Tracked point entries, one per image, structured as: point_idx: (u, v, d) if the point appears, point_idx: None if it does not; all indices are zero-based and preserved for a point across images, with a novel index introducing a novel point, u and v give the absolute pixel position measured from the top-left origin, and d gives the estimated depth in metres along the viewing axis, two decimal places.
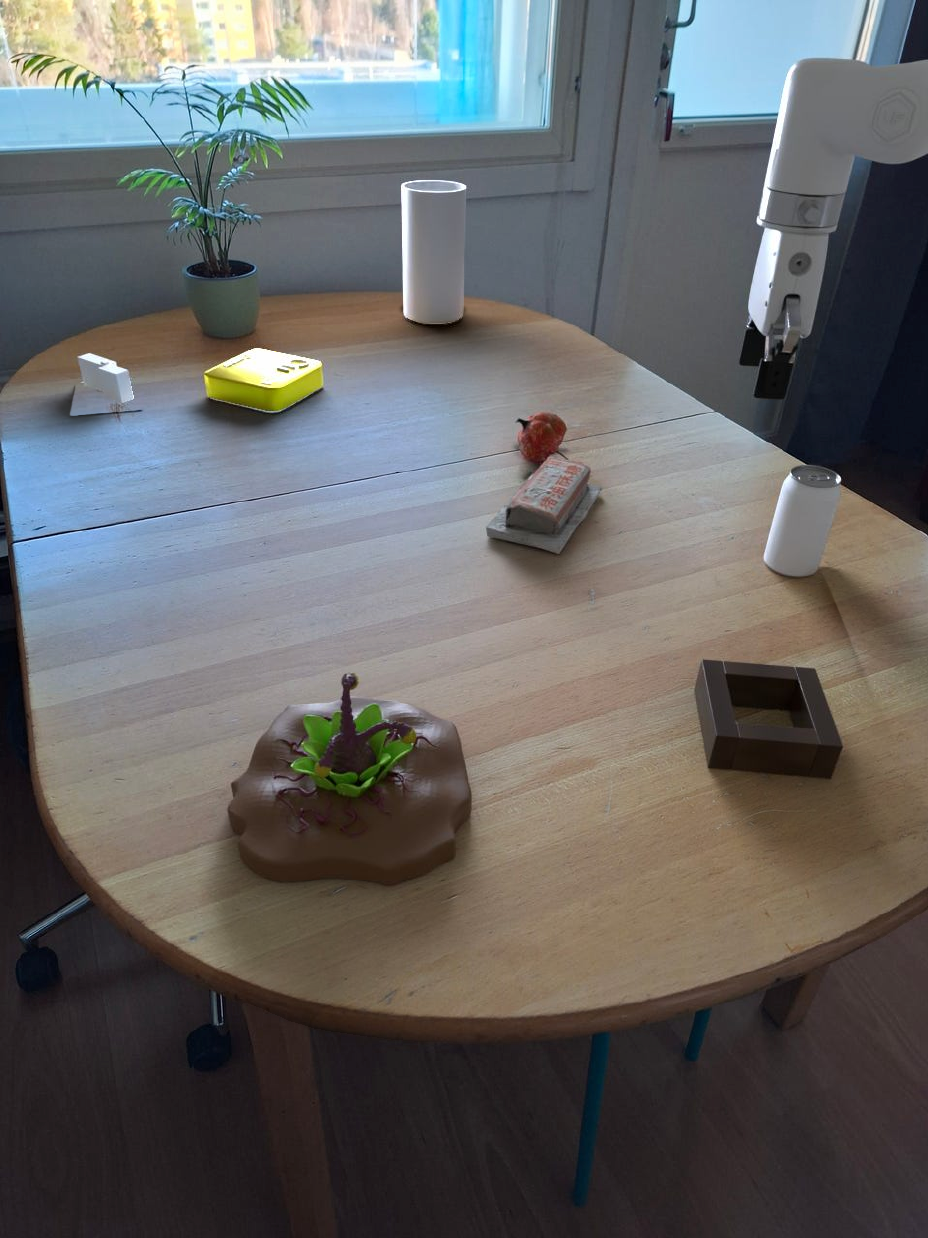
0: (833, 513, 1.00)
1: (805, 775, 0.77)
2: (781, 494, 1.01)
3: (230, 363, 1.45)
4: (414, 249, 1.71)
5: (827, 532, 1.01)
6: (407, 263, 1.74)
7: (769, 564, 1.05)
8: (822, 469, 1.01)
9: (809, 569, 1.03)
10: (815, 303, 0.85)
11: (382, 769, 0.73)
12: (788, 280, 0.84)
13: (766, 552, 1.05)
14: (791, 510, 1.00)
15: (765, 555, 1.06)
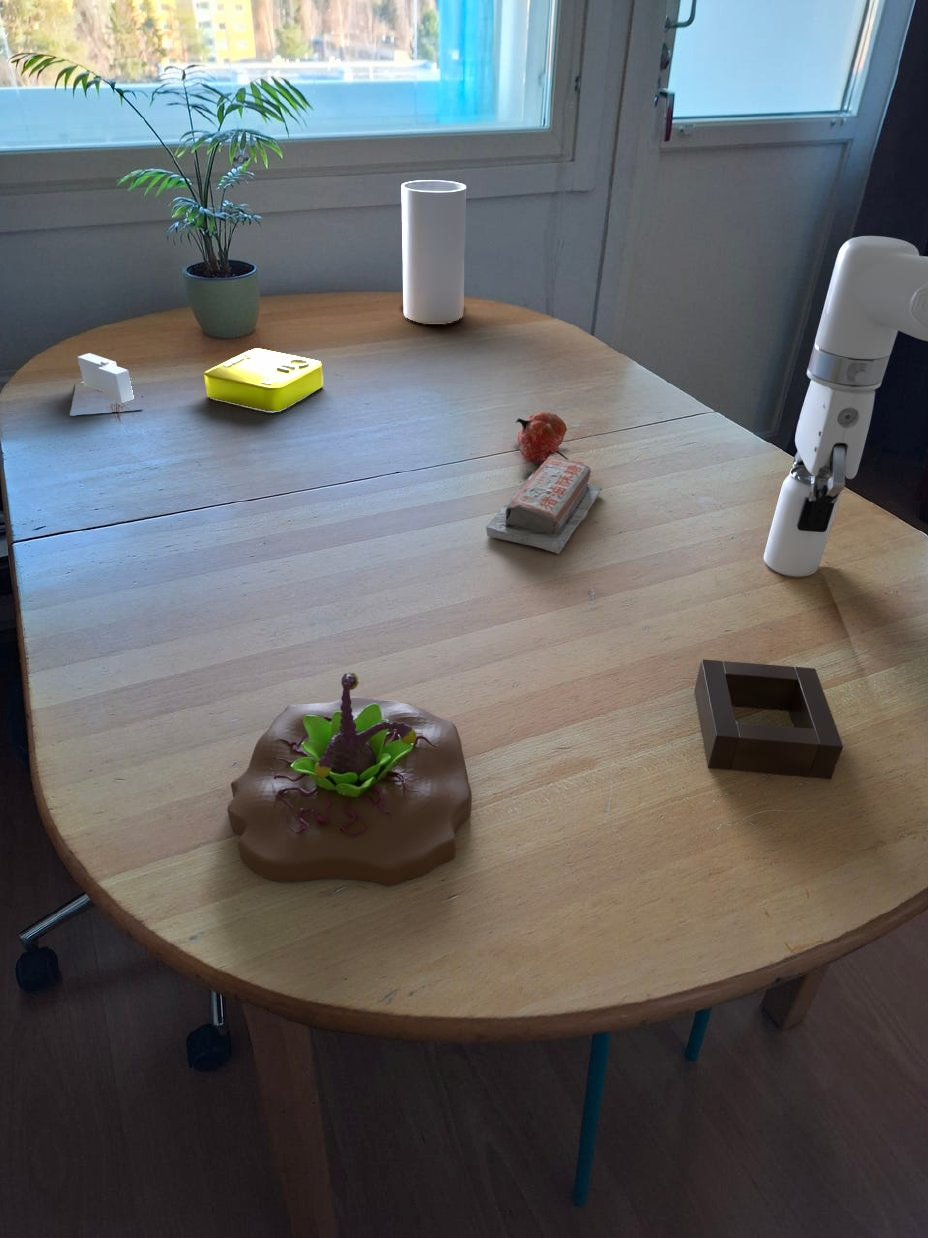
0: (833, 513, 1.00)
1: (805, 775, 0.77)
2: (781, 494, 1.01)
3: (230, 363, 1.45)
4: (414, 249, 1.71)
5: (827, 532, 1.01)
6: (407, 263, 1.74)
7: (769, 564, 1.05)
8: (822, 469, 1.01)
9: (809, 569, 1.03)
10: (861, 451, 0.92)
11: (382, 769, 0.73)
12: (837, 431, 0.91)
13: (766, 552, 1.05)
14: (791, 510, 1.00)
15: (765, 554, 1.06)
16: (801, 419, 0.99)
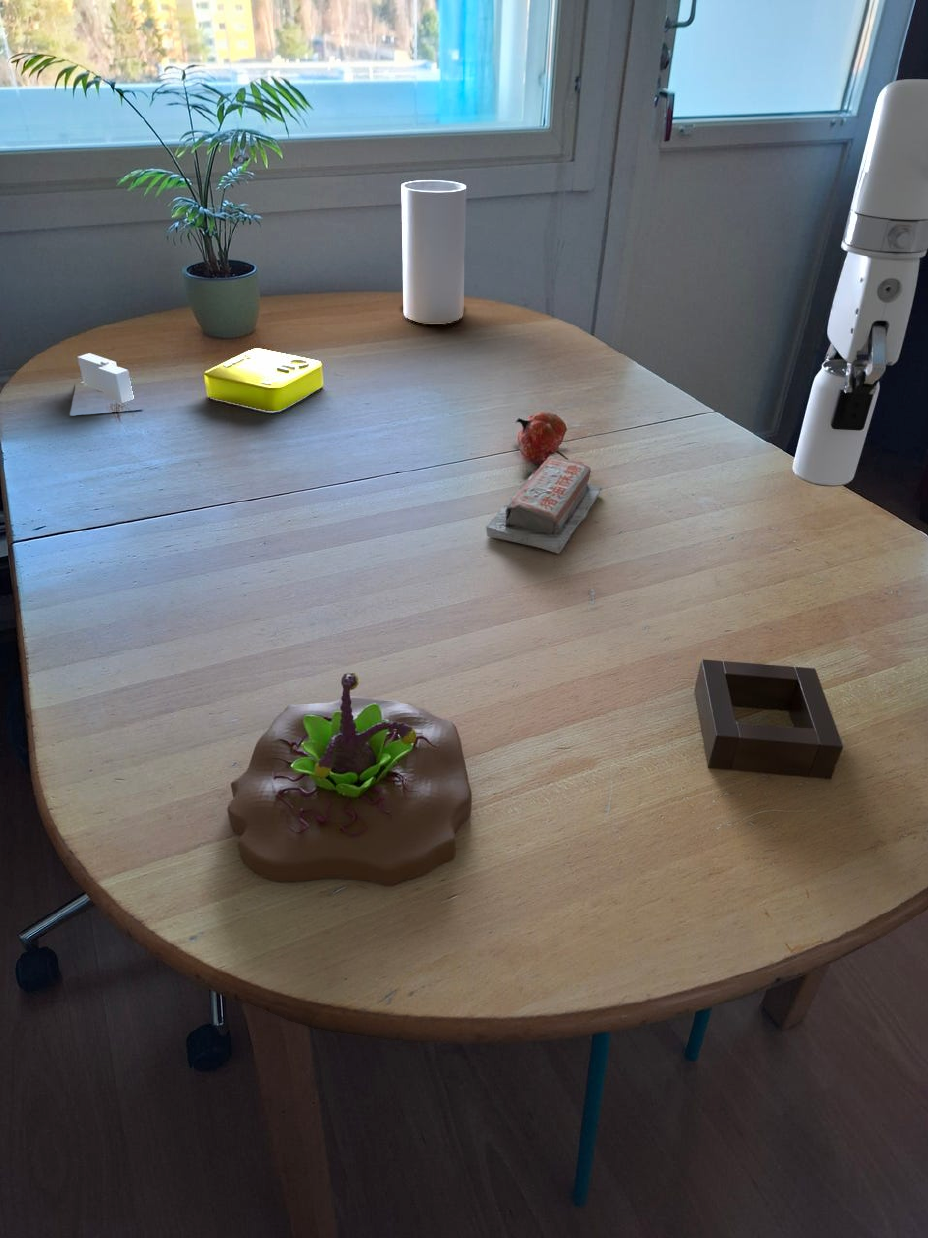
0: (871, 410, 0.90)
1: (805, 775, 0.77)
2: (812, 391, 0.91)
3: (230, 363, 1.45)
4: (414, 249, 1.71)
5: (864, 432, 0.91)
6: (407, 263, 1.74)
7: (799, 473, 0.95)
8: None
9: (844, 476, 0.93)
10: (904, 330, 0.82)
11: (382, 769, 0.73)
12: (876, 307, 0.81)
13: (795, 460, 0.95)
14: (823, 407, 0.90)
15: (795, 463, 0.96)
16: (834, 305, 0.89)
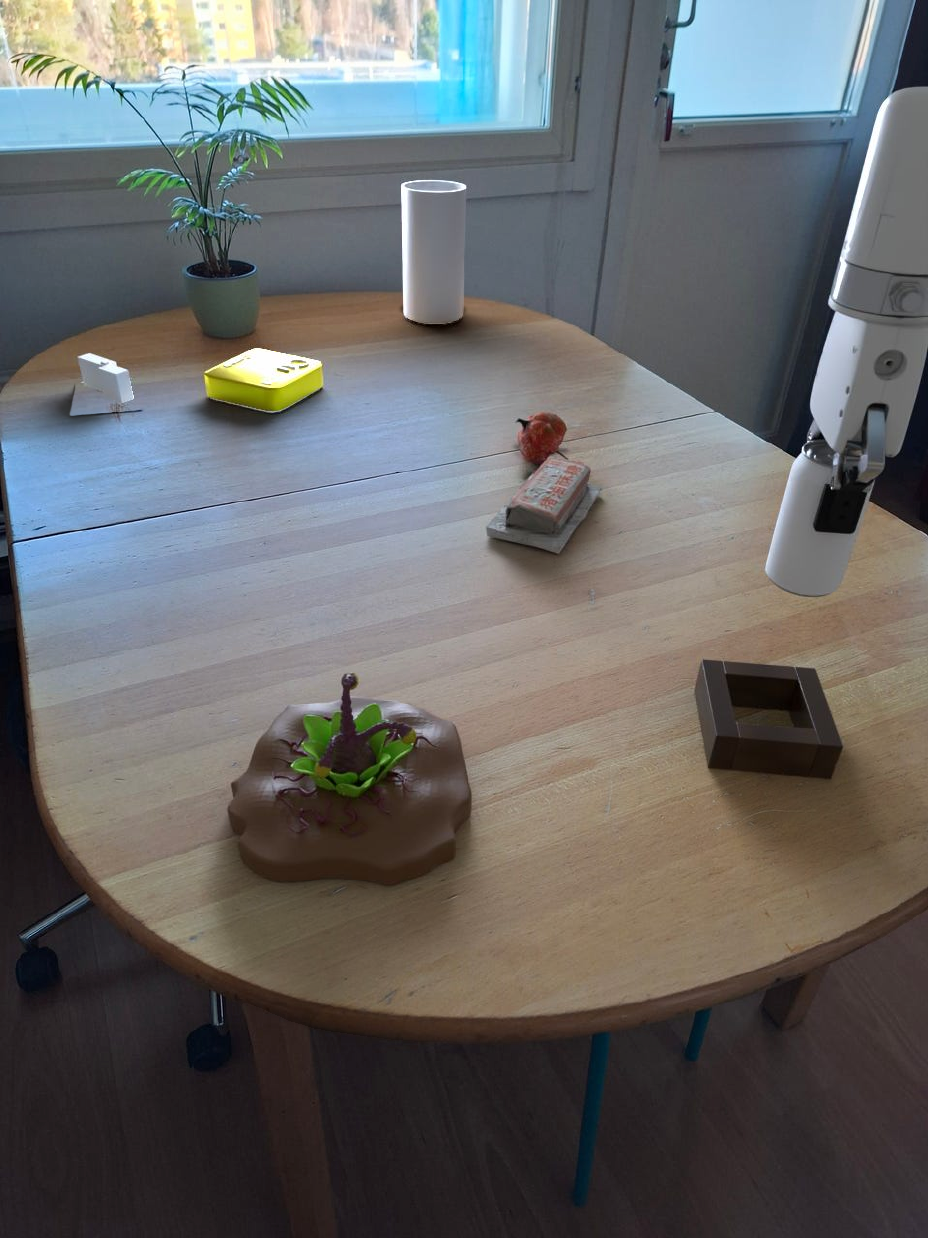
0: (863, 507, 0.70)
1: (805, 775, 0.77)
2: (790, 481, 0.72)
3: (230, 363, 1.45)
4: (414, 249, 1.71)
5: (854, 534, 0.72)
6: (407, 263, 1.74)
7: (773, 578, 0.76)
8: (847, 445, 0.72)
9: (828, 586, 0.74)
10: (909, 415, 0.63)
11: (382, 769, 0.73)
12: (873, 386, 0.62)
13: (769, 561, 0.76)
14: (803, 503, 0.71)
15: (768, 565, 0.76)
16: (819, 373, 0.69)
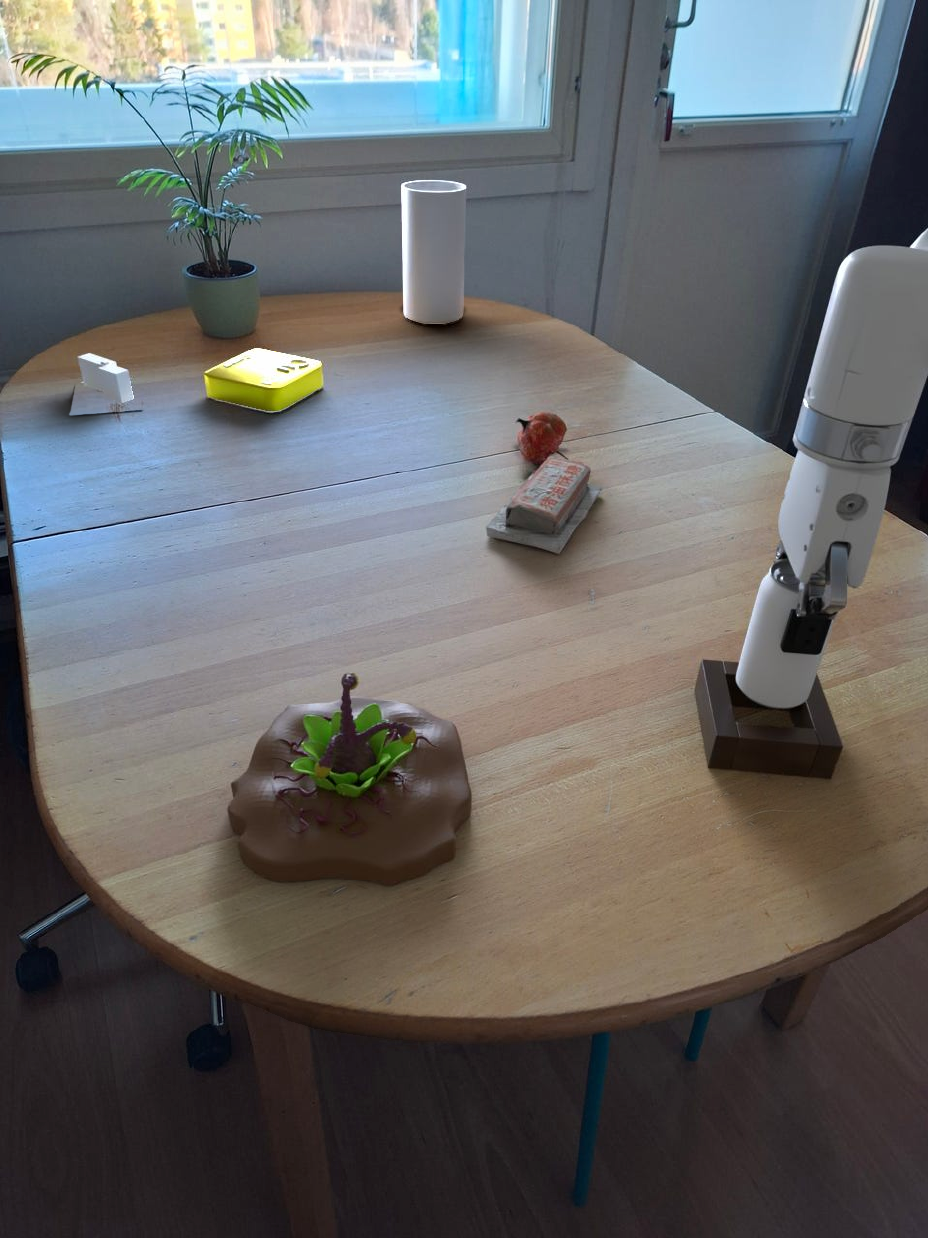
0: (829, 628, 0.72)
1: (805, 775, 0.77)
2: (758, 600, 0.73)
3: (230, 363, 1.45)
4: (414, 249, 1.71)
5: (821, 652, 0.73)
6: (407, 263, 1.74)
7: (743, 689, 0.77)
8: None
9: (796, 699, 0.76)
10: (870, 552, 0.64)
11: (382, 769, 0.73)
12: (836, 525, 0.63)
13: (739, 672, 0.78)
14: (771, 623, 0.72)
15: (738, 675, 0.78)
16: (786, 499, 0.71)
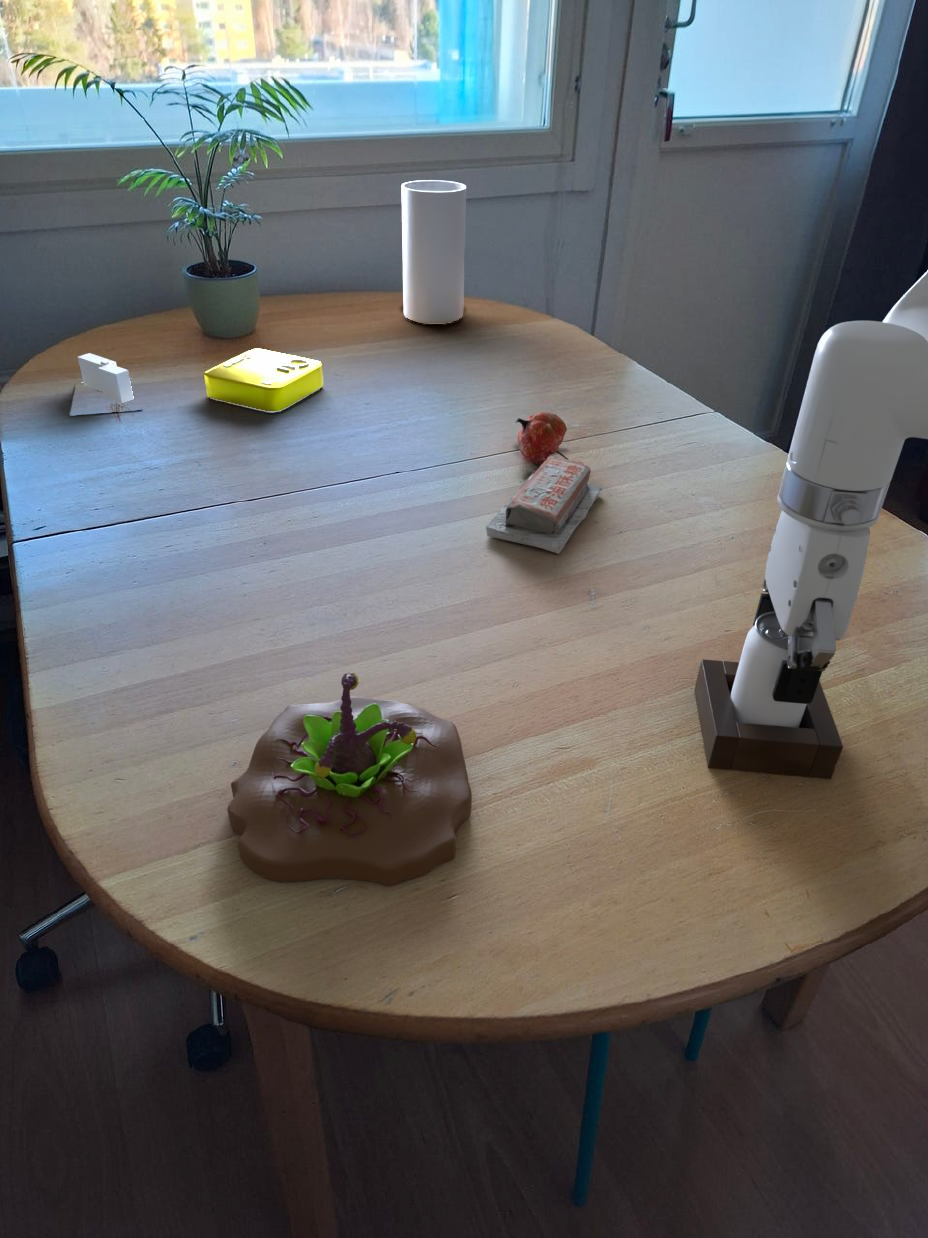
0: None
1: (805, 775, 0.77)
2: (744, 652, 0.76)
3: (230, 363, 1.45)
4: (414, 249, 1.71)
5: None
6: (407, 263, 1.74)
7: None
8: None
9: None
10: (852, 608, 0.67)
11: (382, 769, 0.73)
12: (818, 583, 0.66)
13: None
14: (756, 675, 0.75)
15: None
16: (772, 552, 0.74)
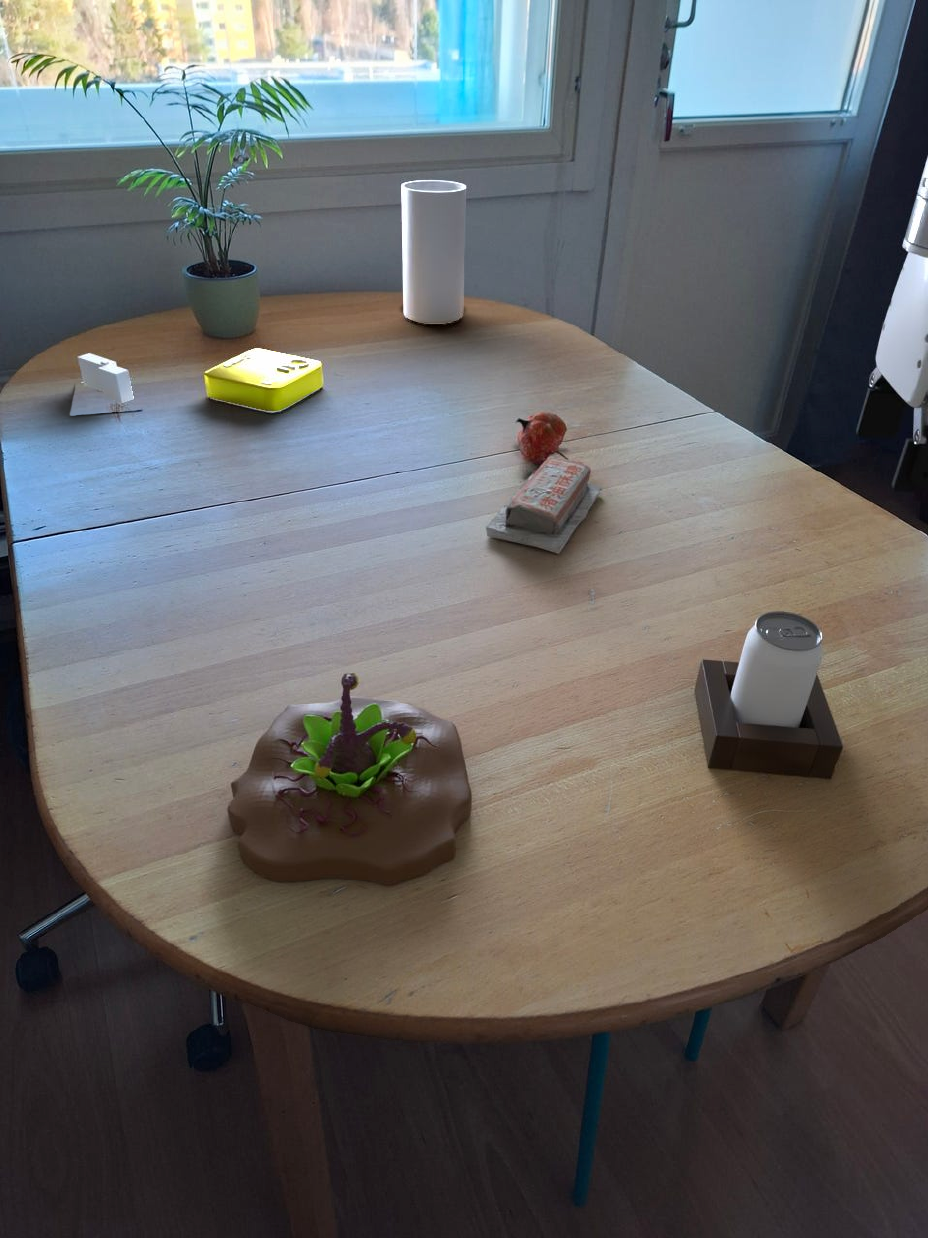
0: (812, 679, 0.75)
1: (805, 775, 0.77)
2: (744, 652, 0.76)
3: (230, 363, 1.45)
4: (414, 249, 1.71)
5: (805, 701, 0.77)
6: (407, 263, 1.74)
7: None
8: (798, 618, 0.77)
9: None
10: None
11: (382, 769, 0.73)
12: None
13: None
14: (756, 675, 0.75)
15: None
16: (888, 325, 0.65)
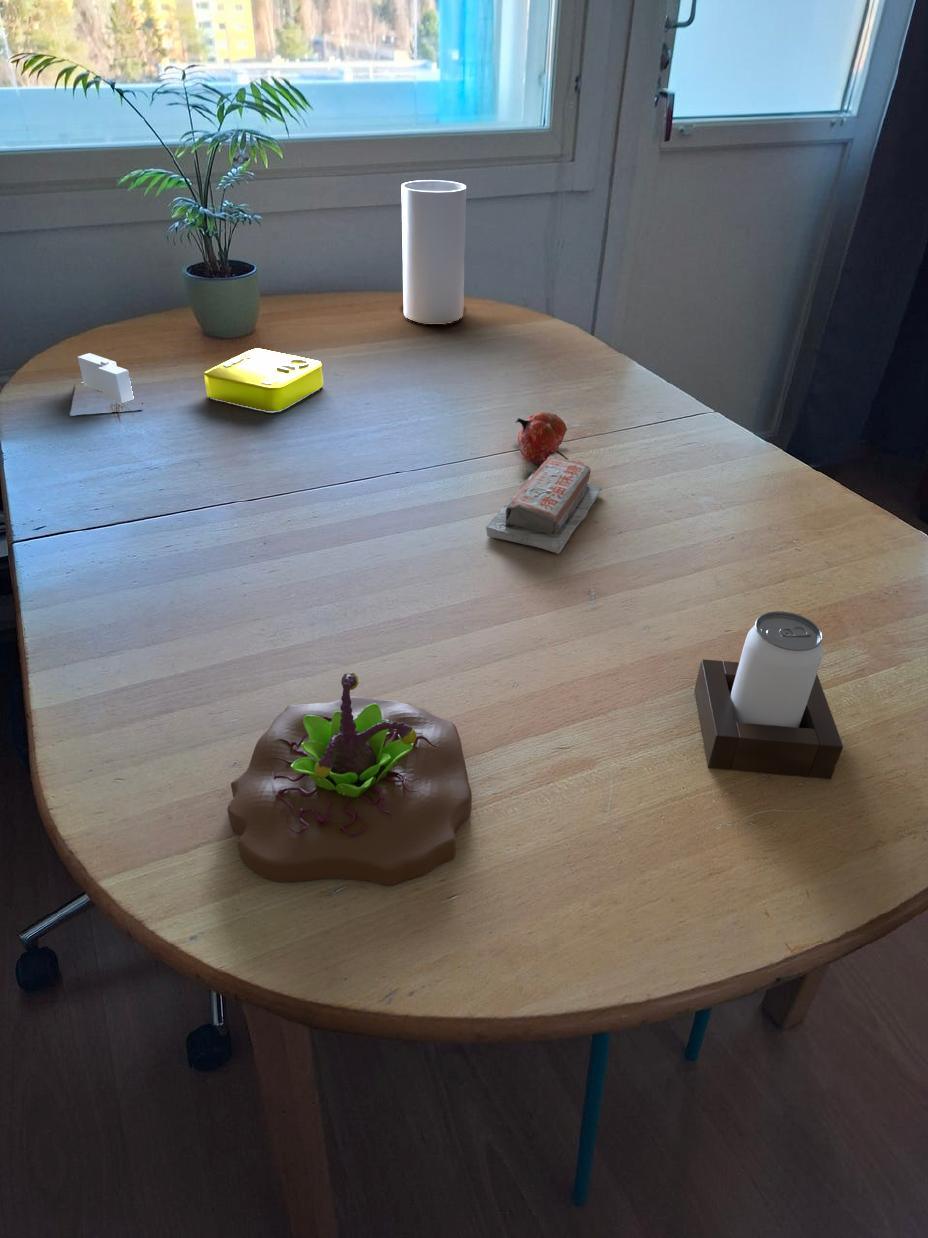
0: (812, 679, 0.75)
1: (805, 775, 0.77)
2: (744, 652, 0.76)
3: (230, 363, 1.45)
4: (414, 249, 1.71)
5: (805, 701, 0.77)
6: (407, 263, 1.74)
7: None
8: (798, 618, 0.77)
9: None
10: None
11: (382, 769, 0.73)
12: None
13: None
14: (756, 675, 0.75)
15: None
16: None
